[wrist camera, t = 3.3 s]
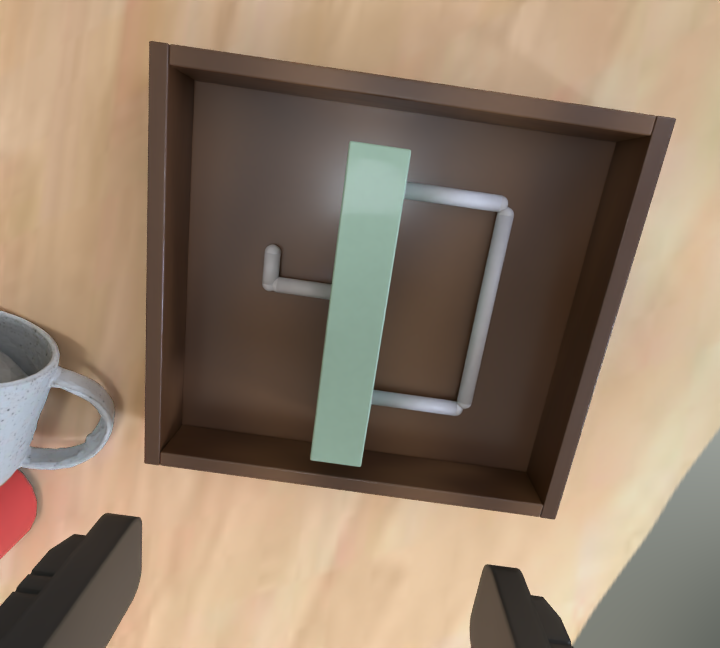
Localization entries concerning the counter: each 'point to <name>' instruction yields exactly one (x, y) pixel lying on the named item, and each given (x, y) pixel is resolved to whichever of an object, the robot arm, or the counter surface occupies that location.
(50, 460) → the ceramic mug
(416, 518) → the counter surface
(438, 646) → the counter surface
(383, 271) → the hanger
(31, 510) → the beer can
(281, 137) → the tray
